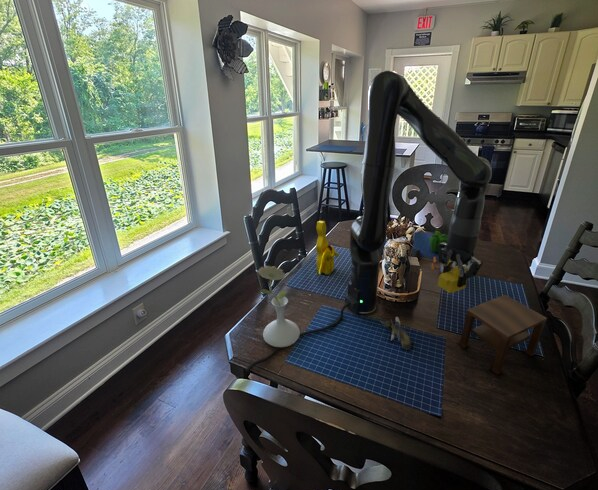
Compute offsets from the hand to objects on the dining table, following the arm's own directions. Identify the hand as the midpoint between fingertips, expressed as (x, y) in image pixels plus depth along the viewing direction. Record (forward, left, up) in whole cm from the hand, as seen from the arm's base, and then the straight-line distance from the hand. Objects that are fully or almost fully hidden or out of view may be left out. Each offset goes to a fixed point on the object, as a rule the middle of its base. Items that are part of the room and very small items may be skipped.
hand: (453, 281), depth 96 cm
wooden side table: (+6, -14, -17) cm, 23 cm away
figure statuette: (-17, +47, -17) cm, 53 cm away
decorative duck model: (+27, +20, -17) cm, 38 cm away
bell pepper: (+38, +38, -17) cm, 57 cm away
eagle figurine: (-17, +2, -17) cm, 25 cm away
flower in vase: (-49, +19, -17) cm, 56 cm away
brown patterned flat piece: (+18, +45, -17) cm, 52 cm away
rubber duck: (0, 0, -2) cm, 2 cm away
